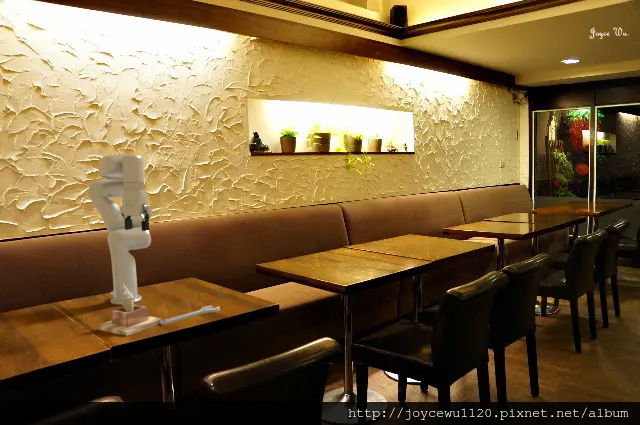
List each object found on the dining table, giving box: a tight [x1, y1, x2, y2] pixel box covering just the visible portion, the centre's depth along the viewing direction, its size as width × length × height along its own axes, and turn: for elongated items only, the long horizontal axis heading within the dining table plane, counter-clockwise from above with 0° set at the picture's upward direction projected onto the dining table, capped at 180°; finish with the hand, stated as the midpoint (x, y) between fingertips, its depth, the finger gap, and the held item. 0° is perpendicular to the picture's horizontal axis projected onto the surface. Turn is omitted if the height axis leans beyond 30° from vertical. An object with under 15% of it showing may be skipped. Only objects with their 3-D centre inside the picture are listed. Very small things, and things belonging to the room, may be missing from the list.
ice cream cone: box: [119, 283, 135, 313], centre depth 189 cm, size 5×5×15 cm
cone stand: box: [97, 304, 164, 337], centre depth 187 cm, size 16×16×6 cm
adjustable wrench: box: [159, 305, 221, 326], centre depth 198 cm, size 25×6×2 cm, turn 132°
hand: (137, 229), depth 201 cm, fingers open, 9 cm apart
